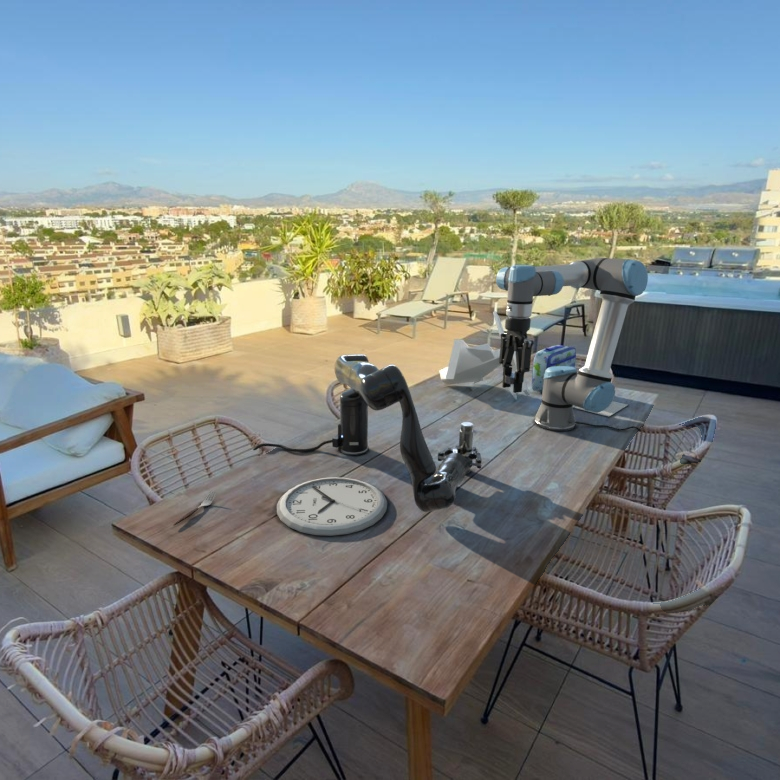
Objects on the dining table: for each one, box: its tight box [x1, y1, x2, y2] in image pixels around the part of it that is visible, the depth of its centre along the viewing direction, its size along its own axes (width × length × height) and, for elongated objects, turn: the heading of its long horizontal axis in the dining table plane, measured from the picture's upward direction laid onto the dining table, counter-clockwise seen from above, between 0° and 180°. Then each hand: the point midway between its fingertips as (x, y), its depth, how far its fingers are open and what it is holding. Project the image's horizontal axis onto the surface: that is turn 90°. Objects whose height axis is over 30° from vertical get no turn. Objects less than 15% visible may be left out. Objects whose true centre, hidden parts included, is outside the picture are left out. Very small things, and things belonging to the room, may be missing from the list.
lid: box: [504, 372, 515, 385], centre depth 166 cm, size 5×5×2 cm
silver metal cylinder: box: [458, 421, 474, 475], centre depth 162 cm, size 4×4×16 cm
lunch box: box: [531, 344, 577, 393], centre depth 246 cm, size 26×11×21 cm, turn 135°
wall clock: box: [276, 476, 388, 537], centre depth 142 cm, size 30×2×30 cm
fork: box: [173, 490, 218, 526], centre depth 138 cm, size 3×16×2 cm, turn 160°
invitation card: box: [573, 400, 629, 418], centre depth 226 cm, size 21×1×15 cm
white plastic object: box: [438, 310, 531, 400], centre depth 245 cm, size 37×45×31 cm
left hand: (467, 448), depth 165 cm, fingers closed on silver metal cylinder, 4 cm apart
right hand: (511, 389), depth 167 cm, fingers closed on lid, 5 cm apart
